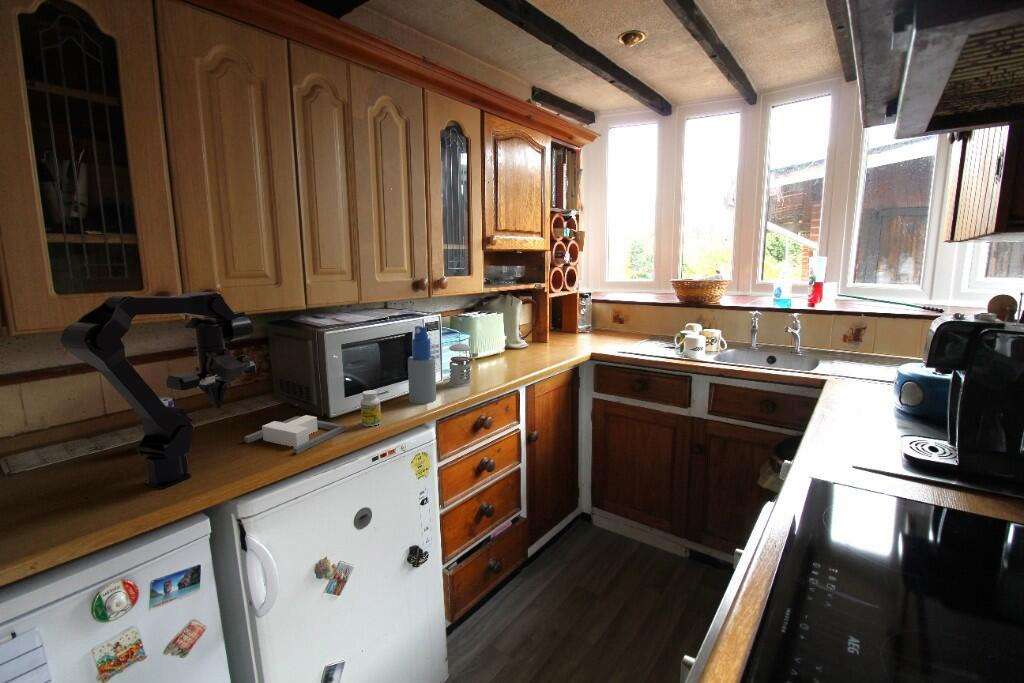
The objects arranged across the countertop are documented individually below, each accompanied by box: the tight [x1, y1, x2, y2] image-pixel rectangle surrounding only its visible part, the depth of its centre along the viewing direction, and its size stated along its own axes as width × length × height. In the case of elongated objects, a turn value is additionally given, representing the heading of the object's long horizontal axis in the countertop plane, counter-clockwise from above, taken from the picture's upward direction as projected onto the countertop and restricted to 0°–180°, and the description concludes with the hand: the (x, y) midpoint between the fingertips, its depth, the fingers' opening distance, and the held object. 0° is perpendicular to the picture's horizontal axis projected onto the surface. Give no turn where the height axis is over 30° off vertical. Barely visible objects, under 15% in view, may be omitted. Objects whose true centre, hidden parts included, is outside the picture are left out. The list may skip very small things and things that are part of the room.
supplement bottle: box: [360, 389, 382, 427], centre depth 140 cm, size 5×5×10 cm
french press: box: [446, 317, 474, 388], centre depth 181 cm, size 10×12×25 cm
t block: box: [261, 414, 319, 448], centre depth 131 cm, size 11×12×4 cm
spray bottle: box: [407, 325, 437, 405], centre depth 161 cm, size 9×9×25 cm
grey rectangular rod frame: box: [243, 415, 347, 454], centre depth 131 cm, size 17×18×2 cm
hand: (217, 408), depth 118 cm, fingers closed
